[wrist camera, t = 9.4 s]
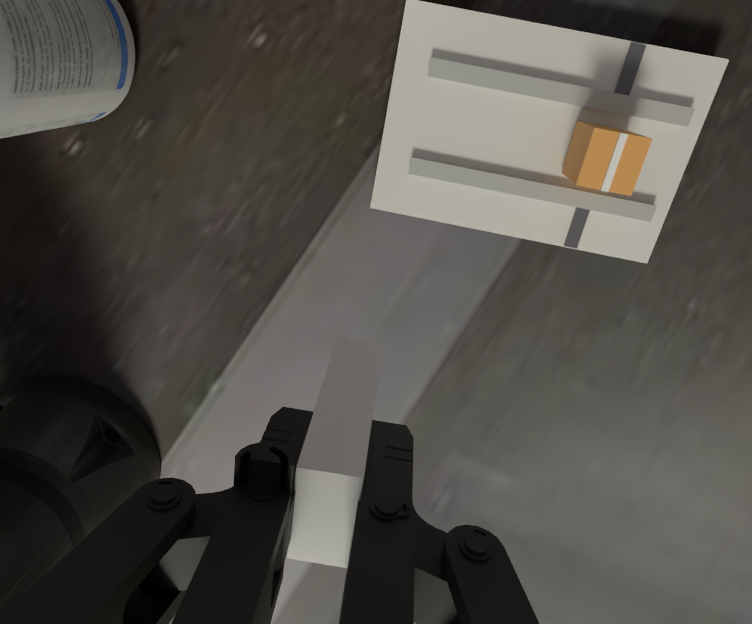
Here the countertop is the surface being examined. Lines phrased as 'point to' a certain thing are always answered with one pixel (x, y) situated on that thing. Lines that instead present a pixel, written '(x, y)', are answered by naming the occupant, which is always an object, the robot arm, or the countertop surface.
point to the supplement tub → (62, 63)
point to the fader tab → (605, 158)
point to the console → (534, 127)
